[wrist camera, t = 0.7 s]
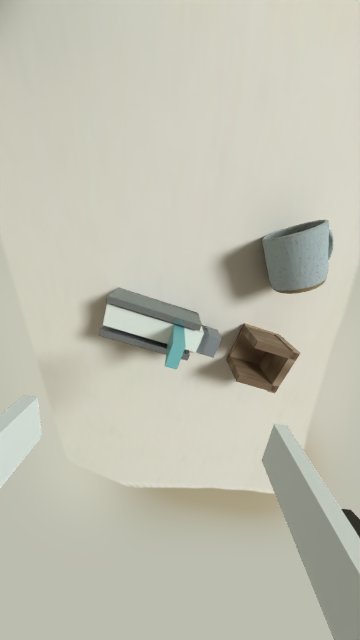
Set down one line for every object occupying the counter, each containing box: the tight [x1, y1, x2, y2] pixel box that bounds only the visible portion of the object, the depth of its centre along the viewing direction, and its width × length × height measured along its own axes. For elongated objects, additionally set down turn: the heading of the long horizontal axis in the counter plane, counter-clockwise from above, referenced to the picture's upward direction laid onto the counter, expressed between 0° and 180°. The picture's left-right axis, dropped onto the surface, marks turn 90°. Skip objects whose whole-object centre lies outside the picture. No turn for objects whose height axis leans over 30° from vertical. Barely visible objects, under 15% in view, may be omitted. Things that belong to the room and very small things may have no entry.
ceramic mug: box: [262, 220, 333, 294], centre depth 27 cm, size 11×8×8 cm
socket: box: [227, 323, 300, 393], centre depth 33 cm, size 8×7×6 cm
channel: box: [99, 288, 202, 360], centre depth 31 cm, size 6×14×6 cm, turn 71°
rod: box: [103, 303, 222, 369], centre depth 28 cm, size 4×18×10 cm, turn 72°
